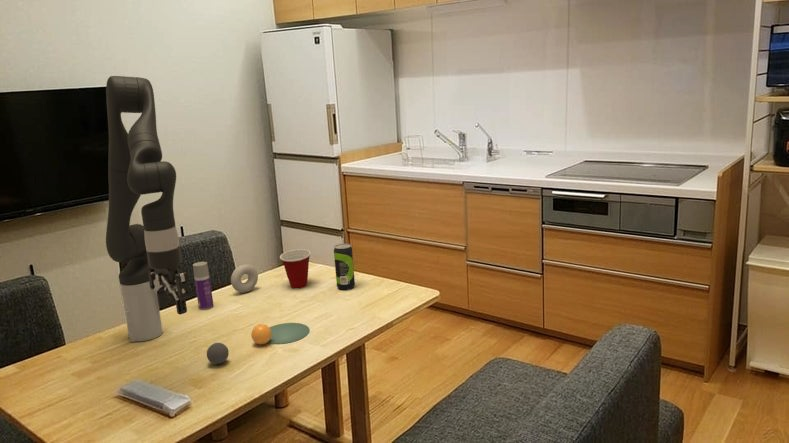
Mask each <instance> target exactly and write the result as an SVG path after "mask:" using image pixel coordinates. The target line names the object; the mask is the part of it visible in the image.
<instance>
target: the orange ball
mask: <svg viewBox="0 0 789 443" xmlns="http://www.w3.org/2000/svg"><path fill="white" fill-rule="evenodd" d="M269 327H270V326H268V325H266V324H258V325H255V326H254V327H253V329H252V330H251V334H250V336H251V340H252V341H253V342H254V343H256V344H257V345H265V344H268V343H267V342H268V341H269V340H270V339H271V335H272V333H271V330H270V328H269Z"/></svg>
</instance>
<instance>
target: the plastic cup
mask: <svg viewBox="0 0 789 443" xmlns="http://www.w3.org/2000/svg"><path fill="white" fill-rule="evenodd" d="M311 254H312V253H311V251H310V250H309V249H304V248H297V249H290V250H288V251H285V252H283V253H281V254H280V256H279V259H280V261H281V262H282V265H283V267H284V271H285V272H286V277H287V279H288V284H289V286H290V288H291V287H292V288H291V289H294V288H299V289H302V287H303V288H306V287H307V286H308V278H309V277H308V276H309V264H310V257H311ZM306 285H307V286H306ZM305 286H306V287H305Z"/></svg>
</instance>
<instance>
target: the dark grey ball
mask: <svg viewBox="0 0 789 443" xmlns="http://www.w3.org/2000/svg"><path fill="white" fill-rule="evenodd" d="M229 354H230V353H229V349H228V347H227V345H225V344H224V343H222V342H215V343H213V344H211V345H210V346H209V347H208V348H207V350H206V358H207V360H208V362H210V363H211V364H213V365H221V364H223V363H224V362H226V361H227V359H228V357H229Z"/></svg>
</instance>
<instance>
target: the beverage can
mask: <svg viewBox="0 0 789 443" xmlns="http://www.w3.org/2000/svg"><path fill="white" fill-rule="evenodd" d="M353 254H354V253H353V247H352V244H350V243H338V244H335V245H334V248H333V258H334V266H335V268H334V269H335V270H334V271H335V277H336V278H335V279H336V281H335V282H336V287H337V288H338V290H340V289H341V290H342V291H349V290H352V289H353V288H354V287H355V285H356V282H355V270H354V269H355V268H354V257H353ZM351 288H352V289H351ZM348 289H349V290H348Z"/></svg>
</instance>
